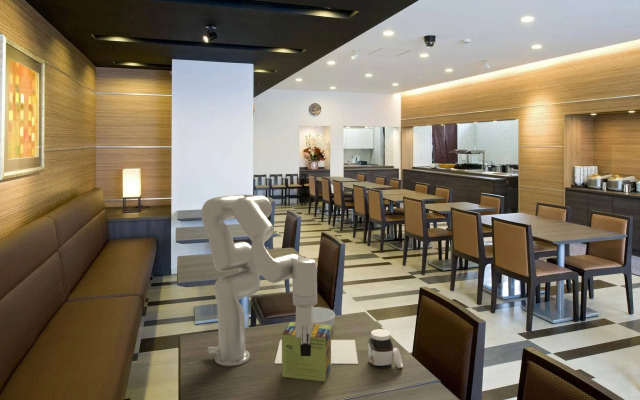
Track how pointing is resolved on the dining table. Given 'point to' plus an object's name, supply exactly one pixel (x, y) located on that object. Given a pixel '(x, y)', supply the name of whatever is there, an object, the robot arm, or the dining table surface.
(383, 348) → the spread jar
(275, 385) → the dining table surface
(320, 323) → the cereal bowl
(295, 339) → the protein box
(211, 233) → the robot arm
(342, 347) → the display mat
